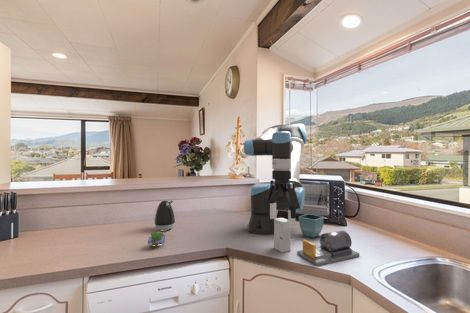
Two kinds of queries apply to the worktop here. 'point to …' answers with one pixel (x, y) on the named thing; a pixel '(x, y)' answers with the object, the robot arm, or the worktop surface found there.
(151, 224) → the worktop surface
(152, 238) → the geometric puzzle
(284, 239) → the skincare box
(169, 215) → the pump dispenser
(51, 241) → the worktop surface
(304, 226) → the flower pot
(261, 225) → the robot arm
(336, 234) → the motor
